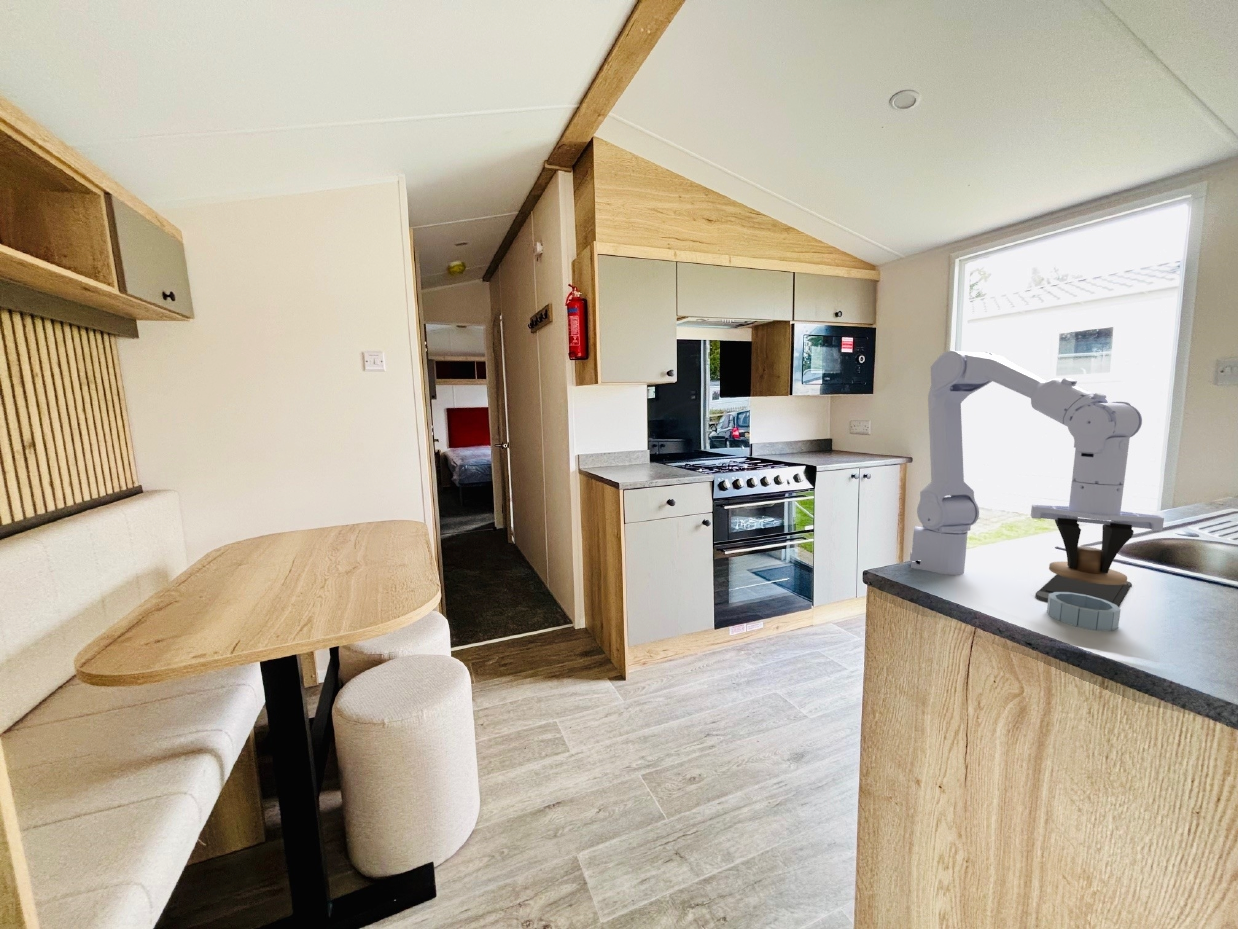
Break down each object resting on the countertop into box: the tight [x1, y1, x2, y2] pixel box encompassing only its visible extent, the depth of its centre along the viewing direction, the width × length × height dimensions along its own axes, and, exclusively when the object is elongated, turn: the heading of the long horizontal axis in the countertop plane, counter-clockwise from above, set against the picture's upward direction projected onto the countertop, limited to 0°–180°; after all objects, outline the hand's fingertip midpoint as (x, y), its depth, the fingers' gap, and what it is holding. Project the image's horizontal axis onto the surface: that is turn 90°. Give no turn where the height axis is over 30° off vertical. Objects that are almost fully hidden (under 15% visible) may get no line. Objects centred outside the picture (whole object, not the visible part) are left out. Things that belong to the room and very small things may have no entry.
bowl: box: [1046, 592, 1121, 632], centre depth 78 cm, size 8×8×4 cm
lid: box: [1048, 545, 1128, 585], centre depth 77 cm, size 9×9×4 cm
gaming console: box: [1035, 574, 1133, 608], centre depth 90 cm, size 24×1×10 cm
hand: (1087, 569), depth 77 cm, fingers closed on lid, 3 cm apart
